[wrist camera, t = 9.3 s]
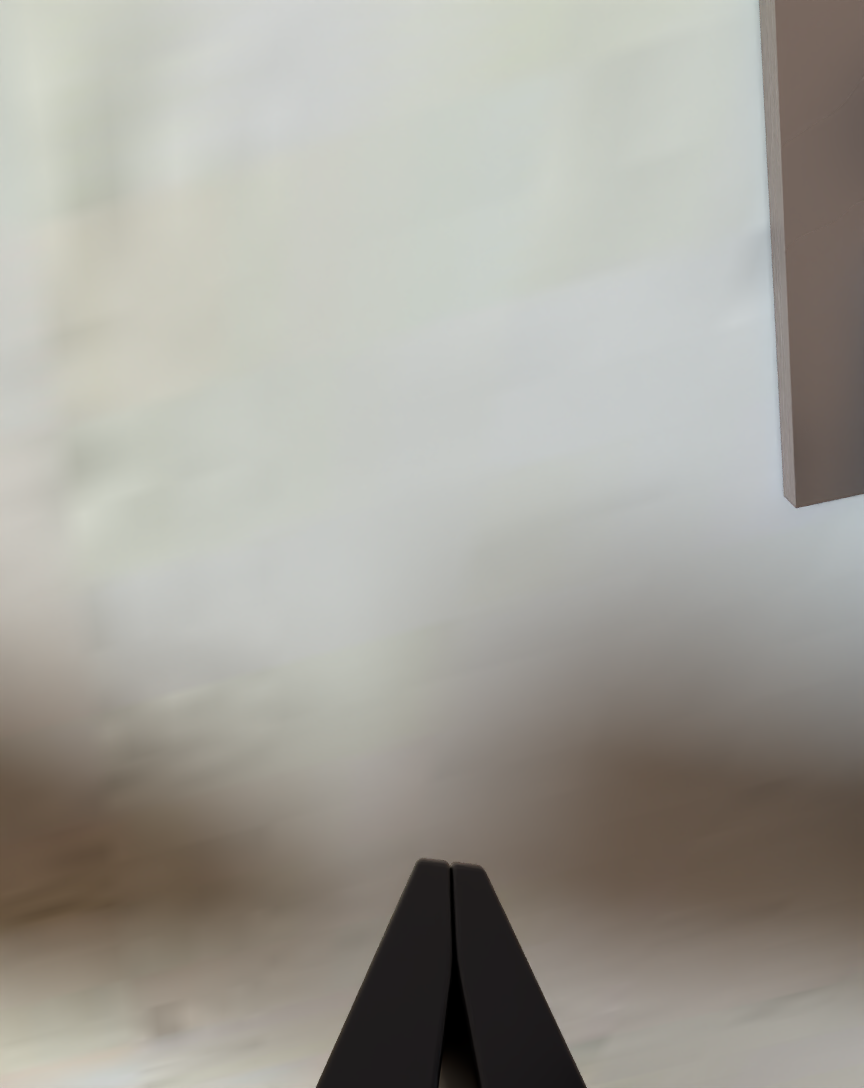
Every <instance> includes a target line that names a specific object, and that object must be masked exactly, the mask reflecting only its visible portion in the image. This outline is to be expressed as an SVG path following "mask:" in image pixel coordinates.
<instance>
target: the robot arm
mask: <svg viewBox="0 0 864 1088" xmlns="http://www.w3.org/2000/svg"><path fill="white" fill-rule="evenodd" d="M316 1088H587V1087H586V1085H585V1083H584V1080H583V1078H582V1076H581V1074H580V1072H579V1070H578V1068H577V1066H576V1063H575V1061H574V1059H573V1057H572V1055H571V1053H570V1051H569V1048H568V1046H567V1044H566V1042H565V1040H564V1038H563V1036H562V1033H561V1031H560V1029H559V1027H558V1025H557V1023H556V1021H555V1019H554V1016H553V1014H552V1012H551V1010H550V1008H549V1006H548V1004H547V1001H546V999H545V997H544V995H543V993H542V991H541V989H540V987H539V984H538V982H537V980H536V978H535V976H534V974H533V972H532V969H531V967H530V965H529V963H528V961H527V959H526V957H525V955H524V952H523V950H522V948H521V946H520V944H519V942H518V940H517V937H516V935H515V933H514V931H513V929H512V927H511V925H510V923H509V920H508V918H507V916H506V914H505V912H504V910H503V908H502V905H501V903H500V901H499V899H498V897H497V895H496V893H495V891H494V888H493V886H492V884H491V882H490V880H489V878H488V876H487V874H486V872H485V870H484V869H483V868H482V867H481V866H480V865H476V864H468V863H460V862H454V863H452V864H451V865H450V866H449V863H447V862H446V861H444V860H436V859H428V858H420V859H419V860H418V861H417V862H416V864H415V866H414V868H413V871H412V873H411V875H410V877H409V880H408V882H407V884H406V886H405V888H404V891H403V893H402V895H401V897H400V900H399V902H398V904H397V906H396V909H395V911H394V913H393V915H392V918H391V920H390V922H389V924H388V927H387V929H386V931H385V933H384V936H383V938H382V940H381V942H380V945H379V947H378V949H377V951H376V954H375V956H374V958H373V960H372V963H371V965H370V967H369V969H368V972H367V974H366V976H365V978H364V981H363V983H362V985H361V987H360V989H359V992H358V994H357V996H356V998H355V1001H354V1003H353V1005H352V1007H351V1010H350V1012H349V1014H348V1016H347V1019H346V1021H345V1023H344V1025H343V1028H342V1030H341V1032H340V1034H339V1037H338V1039H337V1041H336V1043H335V1046H334V1048H333V1050H332V1052H331V1055H330V1057H329V1059H328V1061H327V1064H326V1066H325V1068H324V1070H323V1073H322V1075H321V1077H320V1079H319V1082H318V1084H317V1086H316Z"/></svg>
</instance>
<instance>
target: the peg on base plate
mask: <svg viewBox="0 0 864 1088" xmlns="http://www.w3.org/2000/svg"><path fill="white" fill-rule="evenodd" d="M759 8H760V28H761V48H762V68H763V88H764V108H765V128H766V148H767V168H768V188H769V208H770V228H771V248H772V268H773V288H774V308H775V328H776V348H777V368H778V388H779V408H780V428H781V448H782V468H783V488H784V497H785V498H786V499H787V500H788V501H789V502H790V503H791V504H792V505H793V506H794V507H795V508H799V507H804V506H808V505H813V504H818V503H822V502H827V501H831V500H836V499H841V498H845V497H850V496H855V495H859V494H864V0H759Z"/></svg>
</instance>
